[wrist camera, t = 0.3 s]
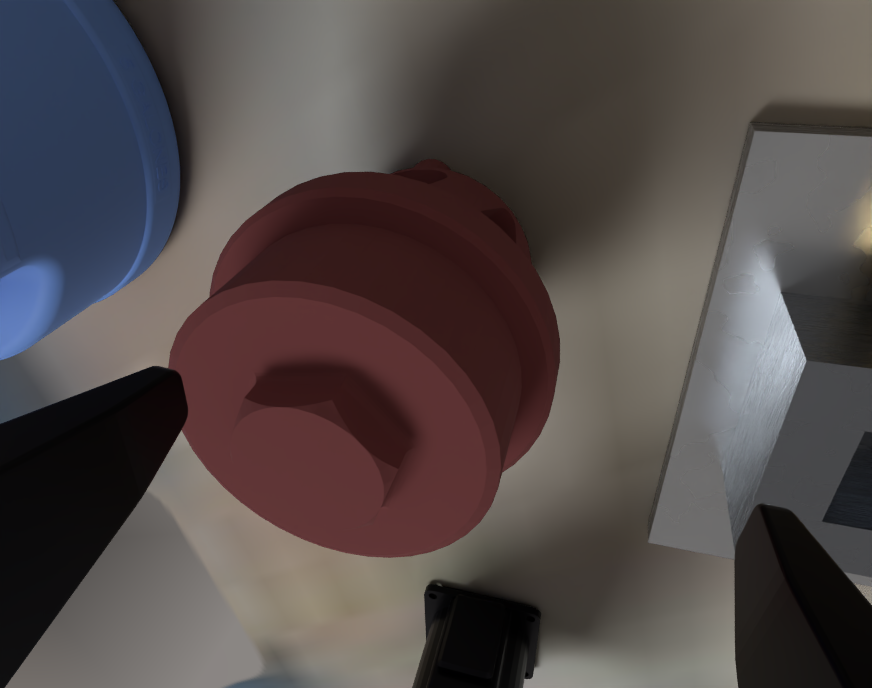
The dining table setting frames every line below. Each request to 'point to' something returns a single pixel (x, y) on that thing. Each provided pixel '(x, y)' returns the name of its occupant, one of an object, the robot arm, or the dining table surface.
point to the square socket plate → (782, 355)
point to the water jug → (77, 163)
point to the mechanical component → (371, 359)
